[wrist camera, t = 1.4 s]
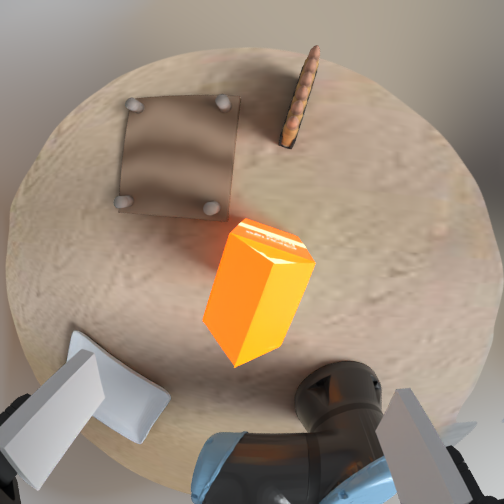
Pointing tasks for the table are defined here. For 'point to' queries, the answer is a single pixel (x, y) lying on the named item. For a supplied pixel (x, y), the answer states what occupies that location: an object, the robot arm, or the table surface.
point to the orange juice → (256, 290)
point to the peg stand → (179, 156)
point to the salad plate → (123, 393)
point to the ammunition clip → (300, 99)
